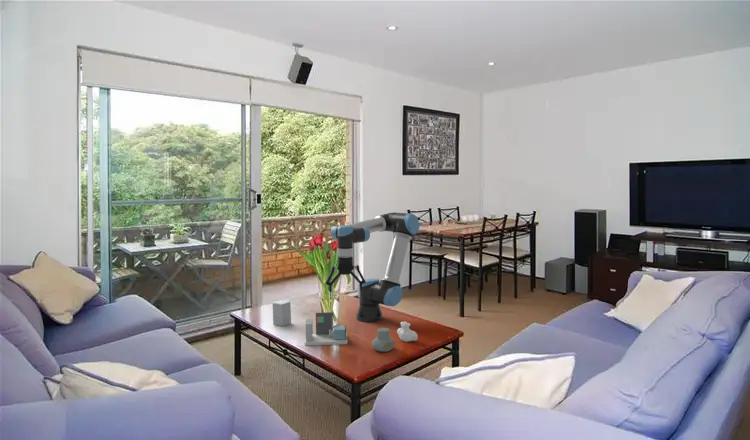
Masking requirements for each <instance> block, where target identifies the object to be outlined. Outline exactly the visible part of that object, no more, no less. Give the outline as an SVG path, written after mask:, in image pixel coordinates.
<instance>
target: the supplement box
mask: <svg viewBox="0 0 750 440" xmlns="http://www.w3.org/2000/svg"><path fill="white" fill-rule="evenodd" d="M291 308H292V307H291V301H289V300H285V299H280V300H276V301H274V302H272V324H273V325H274V326H279V327H284V326H287V325H290V324H291V323H292V313H291V312H292V310H291Z"/></svg>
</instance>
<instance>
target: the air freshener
mask: <svg viewBox="0 0 750 440" xmlns="http://www.w3.org/2000/svg"><path fill="white" fill-rule="evenodd" d="M371 345H372V348H373V349H374V350H376V352H381V353H387V352H389V351H391V350H393V349H394V347H395V345H396V343H395V341H394V339H393V338H392V337H391V336H390V329H389V328H388V327H387V328H386V327H379V328H377V330H376V337H375V338H374V339H372V342H371Z"/></svg>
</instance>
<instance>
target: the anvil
mask: <svg viewBox="0 0 750 440" xmlns="http://www.w3.org/2000/svg"><path fill="white" fill-rule="evenodd" d="M313 322H314V321H313V318H306V320H305V338H306V342H312V338H313V334H314V330H313V329H314V328H313V327H314V325H313V324H314V323H313Z"/></svg>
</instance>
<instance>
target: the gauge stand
mask: <svg viewBox="0 0 750 440" xmlns="http://www.w3.org/2000/svg"><path fill="white" fill-rule="evenodd" d="M332 316H333V317H334V311H326V312H324V311H323V312H315V333H313V338H312V342H306V337H305V339H304V346H306V347H307V346H326V345H328V346H330V345H348V333H347V332H346V339H336V340H334V334H330V336H329V330H330V331H332Z"/></svg>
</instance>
